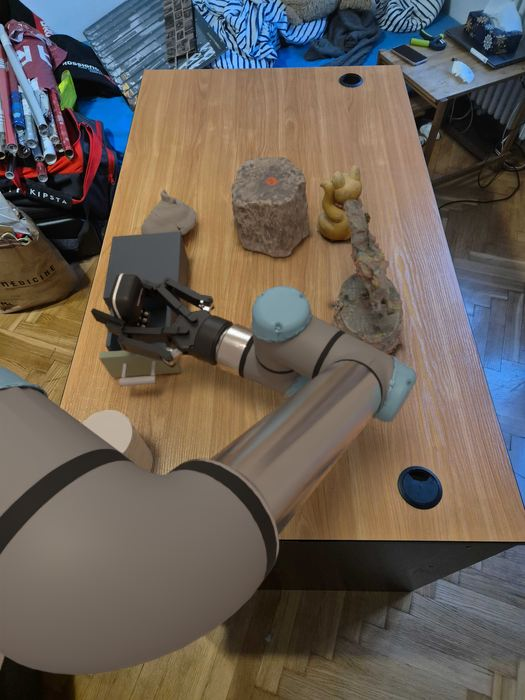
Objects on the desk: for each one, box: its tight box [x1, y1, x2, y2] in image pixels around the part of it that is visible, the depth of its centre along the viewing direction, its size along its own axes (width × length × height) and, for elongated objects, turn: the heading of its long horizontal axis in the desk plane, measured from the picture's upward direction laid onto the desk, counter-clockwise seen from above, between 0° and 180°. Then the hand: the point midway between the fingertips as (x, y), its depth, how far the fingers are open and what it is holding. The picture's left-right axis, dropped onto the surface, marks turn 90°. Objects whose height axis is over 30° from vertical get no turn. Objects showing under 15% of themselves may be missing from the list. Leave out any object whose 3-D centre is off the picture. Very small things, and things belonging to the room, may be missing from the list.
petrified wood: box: [231, 156, 311, 258], centre depth 98 cm, size 19×17×15 cm
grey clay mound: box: [140, 188, 198, 236], centre depth 101 cm, size 12×12×11 cm
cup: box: [81, 409, 154, 473], centre depth 71 cm, size 8×8×12 cm
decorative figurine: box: [316, 164, 363, 243], centre depth 96 cm, size 10×8×15 cm
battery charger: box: [109, 273, 151, 327], centre depth 79 cm, size 7×4×11 cm, turn 176°
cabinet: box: [102, 231, 189, 313], centre depth 92 cm, size 16×14×9 cm
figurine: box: [331, 200, 404, 357], centre depth 79 cm, size 20×13×25 cm, turn 177°
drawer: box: [99, 295, 182, 387], centre depth 84 cm, size 19×12×7 cm, turn 3°
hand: (109, 297), depth 80 cm, fingers closed on battery charger, 7 cm apart
